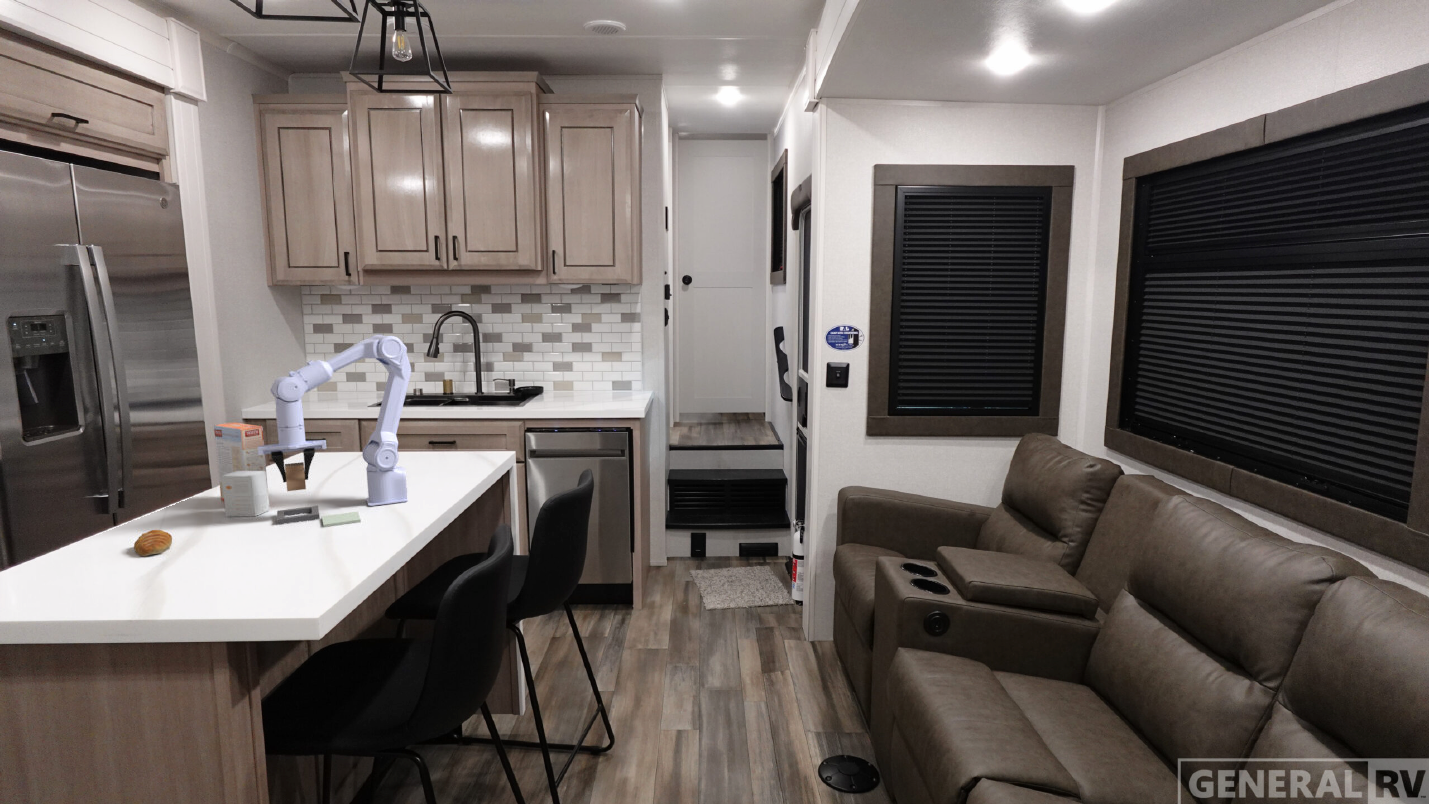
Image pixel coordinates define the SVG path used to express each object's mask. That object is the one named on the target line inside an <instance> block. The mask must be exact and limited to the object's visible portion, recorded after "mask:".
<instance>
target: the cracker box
mask: <svg viewBox="0 0 1429 804" xmlns="http://www.w3.org/2000/svg"><path fill="white" fill-rule="evenodd" d="M213 431H214V440H215V441H214V442H215V449H216V450H215V451H216V459H217V461H216V462H217V471H218V480H219V491H220V501H222V502H224V494H223V486H222V477H221V476H223V475H226V474H229V473H232V472H235V471H265V472H266V480H267V481H268V475H267V464H266V454H264V455H258V446H264V445H265V442H264V431H263V426H261V425H254V424H247V423H240V422H225V423H219V424H214V425H213ZM267 489H268V485H267ZM268 490H269V489H268ZM268 498H269V496H268Z"/></svg>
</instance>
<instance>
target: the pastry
mask: <svg viewBox="0 0 1429 804" xmlns="http://www.w3.org/2000/svg"><path fill="white" fill-rule="evenodd" d="M172 544H173V537H172V535H171V534H170V533H169V532H168V531H164V530H162V529H151V530H149V531H147V532H143V533H142V534H141V535H139V537H137V540H135V542H134V543H133V549H134V551H135V552H136V554H137V555H138V556H140V557H148V556H149V555H156V554H164V552H166V551H168V550H170V548H171V546H172Z"/></svg>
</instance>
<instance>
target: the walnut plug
mask: <svg viewBox="0 0 1429 804" xmlns="http://www.w3.org/2000/svg"><path fill="white" fill-rule="evenodd" d="M284 467H285V473H286V482H285V483H286V490H287V492H293V491H303V490H307V485H306V480H305V473H304V468H305V465H304V461H302V462H295V463H293V462H292V463H284Z"/></svg>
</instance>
